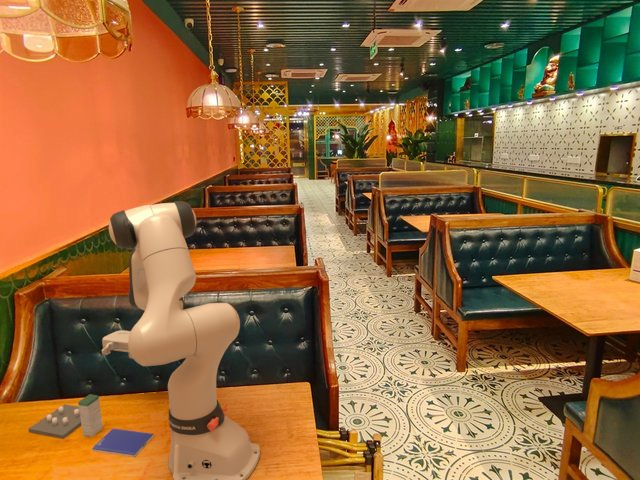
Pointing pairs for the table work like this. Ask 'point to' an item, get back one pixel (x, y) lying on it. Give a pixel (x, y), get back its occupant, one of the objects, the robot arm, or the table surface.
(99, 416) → the block
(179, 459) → the robot arm
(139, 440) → the hard drive
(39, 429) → the dock
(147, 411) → the table surface
